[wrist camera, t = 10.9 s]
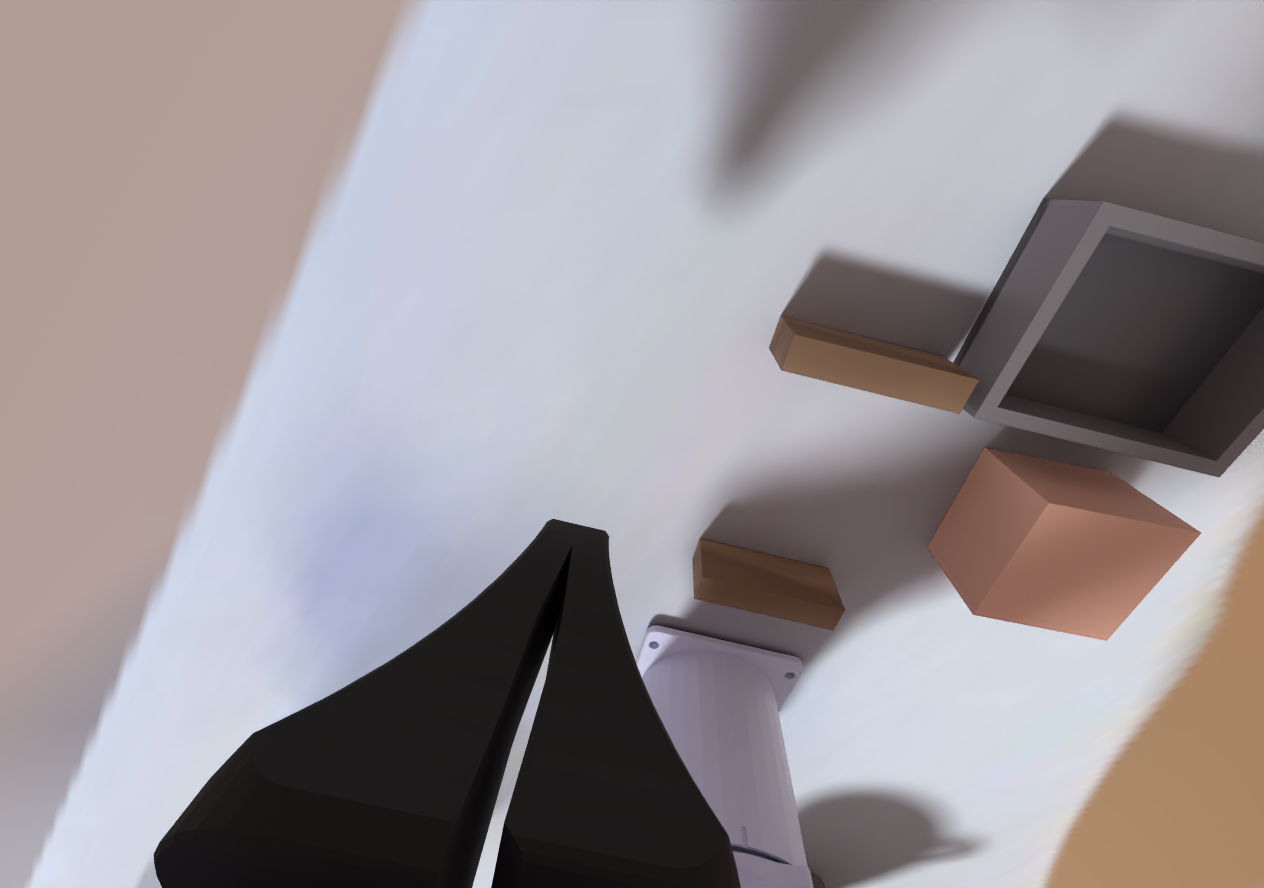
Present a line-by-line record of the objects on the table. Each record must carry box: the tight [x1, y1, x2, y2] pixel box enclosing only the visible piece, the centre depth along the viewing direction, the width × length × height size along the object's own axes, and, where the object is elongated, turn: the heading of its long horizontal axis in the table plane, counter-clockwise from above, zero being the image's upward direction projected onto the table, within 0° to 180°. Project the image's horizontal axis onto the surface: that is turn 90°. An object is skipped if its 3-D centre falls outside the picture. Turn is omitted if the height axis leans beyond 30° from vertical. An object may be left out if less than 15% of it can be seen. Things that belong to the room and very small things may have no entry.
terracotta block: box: [927, 448, 1201, 641], centre depth 19 cm, size 5×5×4 cm
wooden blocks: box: [693, 316, 979, 630], centre depth 19 cm, size 11×6×2 cm, turn 167°
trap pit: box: [954, 199, 1264, 477], centre depth 16 cm, size 6×8×2 cm
